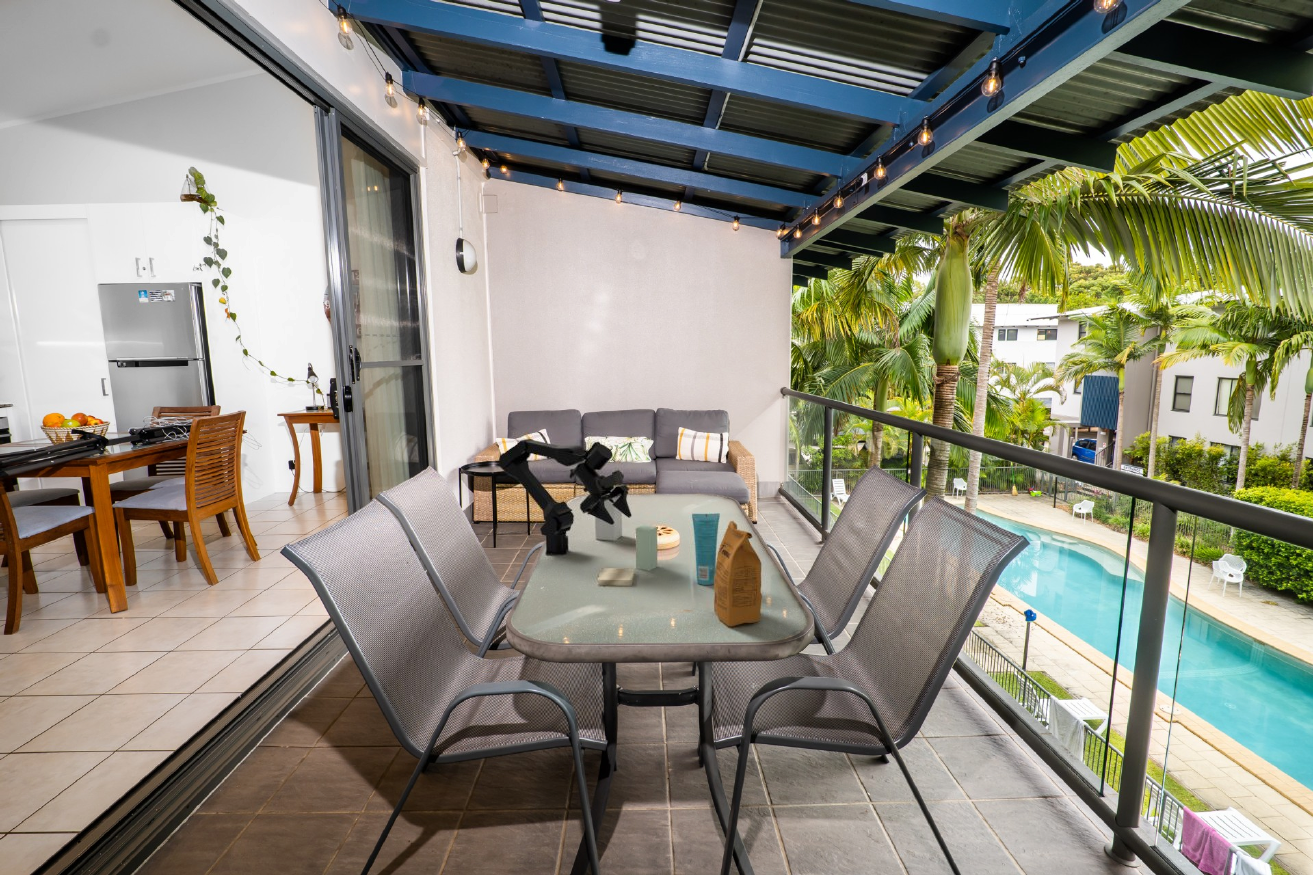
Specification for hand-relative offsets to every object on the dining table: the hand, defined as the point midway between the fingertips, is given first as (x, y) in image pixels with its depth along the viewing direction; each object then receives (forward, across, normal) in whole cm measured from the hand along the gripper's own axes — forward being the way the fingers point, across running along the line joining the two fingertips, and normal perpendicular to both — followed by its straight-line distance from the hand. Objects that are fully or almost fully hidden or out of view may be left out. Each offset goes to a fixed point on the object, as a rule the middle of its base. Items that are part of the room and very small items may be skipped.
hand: (622, 520), depth 178 cm
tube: (+29, -1, -10) cm, 31 cm away
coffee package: (+41, -18, -21) cm, 49 cm away
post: (+16, 0, +4) cm, 16 cm away
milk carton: (-4, +21, +24) cm, 32 cm away
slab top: (+14, -13, +4) cm, 19 cm away
